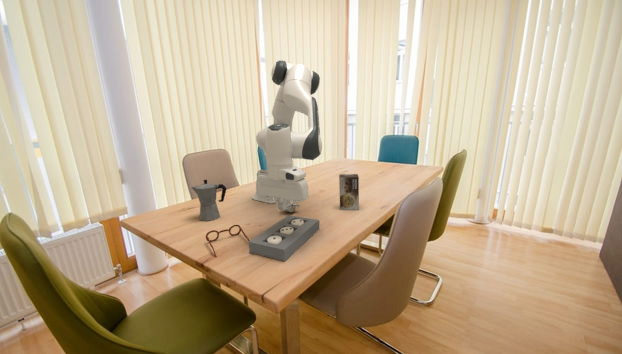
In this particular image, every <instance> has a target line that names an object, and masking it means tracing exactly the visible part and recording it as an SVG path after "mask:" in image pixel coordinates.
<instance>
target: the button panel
mask: <svg viewBox="0 0 622 354" xmlns="http://www.w3.org/2000/svg"><path fill="white" fill-rule="evenodd" d="M295 219H301V220H303V221H304V224H302V225H301V226H298V225H292V224H291V221H292V220H295ZM283 227H292V228H293V232H292V233H291V234H290V235H289V234H284V233H280V229H281V228H283ZM319 230H320V219H316V218H310V217H304V216H298V215H293V214H288V215H287V216H285V217H284V218H282V219H281V220H279V221H278V222H276V223H274V224H273V225H271V226H270V227H268V228H267V229H265V230H264V231H262V232H261V233H260V234H258V235H256V236H255V237H254V238H252V239H251V240H250V241H248V249H249V253H250V254H254V255H258V256H262V257H267V258H271V259H274V260H278V261H283V262H286V261H287V260H288V259H289V258H291V256H293V255H294V253H296V252H297V250H299V249H301V247H302V246H303V245H304V244H305V243H307V241H308V240H310V239H311V238H312V237H313V236H314V234H316V233H317V232H318V231H319ZM271 236H280V237H281V238H282V241H281V242H280V243H279V244H277V245H276V244H272V243H268V241H267V239H268V238H269V237H271Z"/></svg>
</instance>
